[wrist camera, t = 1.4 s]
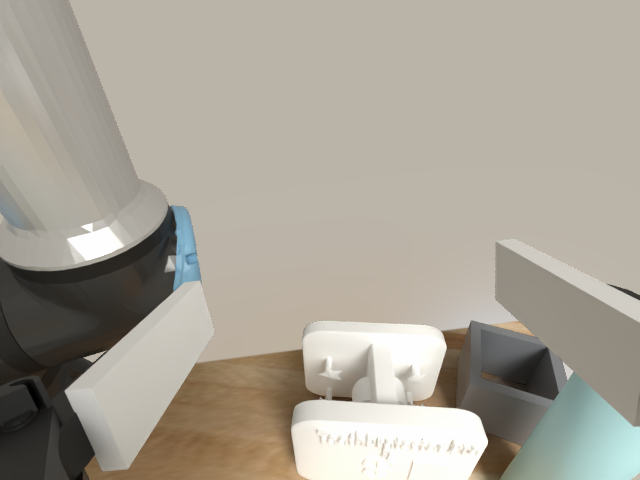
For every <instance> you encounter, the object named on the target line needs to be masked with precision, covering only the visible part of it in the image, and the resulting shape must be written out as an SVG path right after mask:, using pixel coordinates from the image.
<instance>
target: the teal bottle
mask: <svg viewBox="0 0 640 480" xmlns="http://www.w3.org/2000/svg"><path fill="white" fill-rule="evenodd" d="M639 473H640V427H633V426H632V425H631V424H630V423H629V422H628V421H627V420H626V419H625V418H624V417H623V416H622V415H620V414H619V413H618V412H617V411H616V410H615V409H614V408H613V407H612V406H611V405H610V404H609V403H607V402H606V401H605V400H604V399H603V398H602V397H601V396H600V395H599V394H598V393H597V392H595V391H594V390H593V389H592V388H591V387H590V386H589V385H588V384H587V383H586V382H585V381H584V380H582V379H581V378H580V377H579V376H578V375H577V374H576V373H575V372H573V374H572V375H571V376H570V378H569V380H568V381H567V382H566V384H565V385H564V387H563V388H562V389H561V391H560V392H559V394H558V395H557V397H556V398H555V400H554V401H553V402H552V404H551V405H550V407H549V408H548V410H547V411H546V413H545V414H544V415H543V417H542V418H541V420H540V421H539V423H538V424H537V425H536V427H535V428H534V430H533V431H532V433H531V434H530V436H529V437H528V438H527V440H526V441H525V443H524V444H523V446H522V447H521V449H520V450H519V451H518V453H517V454H516V456H515V457H514V459H513V460H512V461H511V463H510V464H509V466H508V467H507V469H506V470H505V472H504V473H503V474H502V476H501V477H500V479H499V480H631V479H632V478H634V477H635V476H636V475H637V474H639Z"/></svg>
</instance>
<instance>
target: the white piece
mask: <svg viewBox="0 0 640 480" xmlns="http://www.w3.org/2000/svg"><path fill="white" fill-rule="evenodd" d="M302 348H303V360H304V372H305V384H306V388H307V389H308V390H309V391H311V392H312V393H315V394H318V395H322V396H326V397H325V400H324V399H322V398H321V397H320V400H309V401H304V402H301V403H299V404H298V405H296V406H295V408H294V411H293V418H292V425H291V434H292V441H293V448H294V455H295V462H296V468H297V472H298V474H299V475H301V476H302V477H304V478H306V479H309V480H468V478H469V477H470V475H471V473H472V471H473V469H474V468H475V466H476V464H477V462H478V461H479V459H480V457H481V455H482V453H483V452H484V450H485V448H486V446H487V444H488V439H487V437H486V434H485V431H484V428H483V425H482V422H481V419H480V418H479V417H478V416H477V415H476V414H474V413H472V412H470V411H467V410H463V409H458V408H446V407H430V406H425V405H424V404H423V403H422V405H421V406H417V405H413V401H421V400H425V399H427V398H429V397H430V396H432V394H433V392H434V389H435V385H436V382H437V379H438V375H439V372H440V369H441V366H442V362H443V359H444V356H445V352H446V349H447V346H446V342H445V339H444V336H443V334H442V332H441V331H440V330H439V329H437V328H435V327H432V326H428V325H414V324H390V323H369V322H344V321H316V322H313V323H310V324H308V325H307V326H306V327H305V328H304V332H303V338H302ZM332 396H334V397H350V398H352V402H351V401H335V400H332Z"/></svg>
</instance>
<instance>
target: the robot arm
mask: <svg viewBox="0 0 640 480" xmlns="http://www.w3.org/2000/svg"><path fill="white" fill-rule="evenodd" d="M0 212H1V214H2V215H3V217H4V219H3V221H2V222H1V224H0V480H89V477H88V475H87V473H86V471H85V469H84V468H85V467H86V465H87V464H88V463H89V462H90V460H91V459H92V458H93V456H94V455H95V457H96V459H97V461H98V464H99V466H100V468H101V470H102V471H114V470H126V469H128V468H129V467H130V465H131V464H132V462H133V461H134V459H135V457H136V456H137V454H138V453H139V451H140V450H141V448H142V446H143V445H144V443H145V442H146V440H147V439H148V437H149V435H150V434H151V432H152V431H153V429H154V428H155V426H156V424H157V423H158V421H159V420H160V418H161V417H162V415H163V413H164V412H165V410H166V409H167V407H168V406H169V404H170V402H171V401H172V399H173V398H174V396H175V395H176V393H177V391H178V390H179V388H180V387H181V385H182V384H183V382H184V380H185V379H186V377H187V376H188V374H189V373H190V371H191V369H192V368H193V366H194V365H195V363H196V362H197V360H198V358H199V357H200V355H201V354H202V352H203V351H204V349H205V348H206V346H207V344H208V343H209V341H210V340H211V338H212V337H213V335H214V333H215V331H214V327H213V324H212V320H211V317H210V313H209V310H208V306H207V303H206V299H205V296H204V292H203V289H202V284H201V275H200V268H199V263H198V259H197V252H196V244H195V238H194V233H193V227H192V223H191V219H190V215H189V212H188V210H187V209H186V208H185V207H182V206H174V205H172V206H170V207H169V205H168V202H167V199H166V197H165V195H164V194H163V192H162V191H161V190H160V189H159V188H158V187H156V186H155V185H153V184H150V183H148V182H146V181H143V180H140V179H138V177H137V175H136V172H135V169H134V167H133V164H132V162H131V159H130V157H129V154H128V151H127V149H126V146H125V144H124V141H123V139H122V136H121V134H120V131H119V128H118V126H117V123H116V121H115V118H114V115H113V113H112V110H111V108H110V105H109V102H108V100H107V97H106V95H105V92H104V90H103V87H102V84H101V82H100V79H99V77H98V74H97V72H96V69H95V66H94V64H93V61H92V59H91V56H90V54H89V51H88V48H87V46H86V43H85V41H84V38H83V36H82V33H81V31H80V28H79V25H78V23H77V20H76V18H75V15H74V12H73V10H72V7H71V5H70V2H69V0H0ZM495 288H496V289H495V291H496V292H495V294H496V295H495V298H496V300H497V301H498V302H499V303H500V304H501V305H502V306H503V307H504V308H505V309H507V310H508V311H509V312H510V313H511V314H512V315H513V316H514V317H515V318H516V319H517V320H518V321H520V322H521V323H522V324H523V325H524V326H525V327H526V328H527V329H528V330H529V331H530V332H531V333H533V334H534V335H535V336H536V337H537V338H538V339H539V340H540V341H541V342H542V343H543V344H545V345H546V346H547V347H548V348H549V349H550V350H551V351H552V352H553V353H554V354H555V355H556V356H558V357H559V358H560V359H561V360H562V361H563V362H564V363H565V364H566V365H567V366H568V367H570V368H571V369H572V370H573V371H574V372H575V373H576V374H577V375H578V376H579V377H580V378H581V379H582V380H584V381H585V382H586V383H587V384H588V385H589V386H590V387H591V388H592V389H593V390H594V391H595V392H597V393H598V394H599V395H600V396H601V397H602V398H603V399H604V400H605V401H606V402H607V403H609V404H610V405H611V406H612V407H613V408H614V409H615V410H616V411H617V412H618V413H619V414H620V415H622V416H623V417H624V418H625V419H626V420H627V421H628V422H629V423H630V424H631V425H632V426H633V427H640V295H638V294H636V293H634V292H632V291H629V290H627V289H623V288H619V287H616V286H613V285H609V284H605V283H603V282H601V281H599V280H597V279H595V278H593V277H591V276H589V275H587V274H585V273H583V272H581V271H579V270H577V269H575V268H572V267H571V266H569V265H567V264H564V263H563V262H560V261H558V260H556V259H554V258H552V257H550V256H548V255H546V254H544V253H542V252H540V251H538V250H536V249H534V248H532V247H530V246H528V245H526V244H524V243H522V242H520V241H518V240H516V239H508V240H500V241H496V283H495ZM106 350H108V351H106ZM103 351H106V352H105V353H103V355H101V356H100V357H99V358H98V359H97V360H96V361H95V362H93V363H92V362H90V361H88V360H86V359H84V358H83V357H87V356H89V355H93V354H96V353H100V352H103Z"/></svg>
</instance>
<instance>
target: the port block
mask: <svg viewBox="0 0 640 480" xmlns="http://www.w3.org/2000/svg"><path fill="white" fill-rule="evenodd" d="M481 371H482V372H485V373H488V374H491V375H495V376H498V377H501V378H505V379H508V380H511V381H514V382H518V383H521V384H524V385H526V388H527V392H524V391H521V390H518V389H515V388H512V387H508V386H505V385H502V384H499V383H496V382H492V381H489V380H486V379H483V378H482V377H481ZM566 382H567V377H566V373H565V369H564V366H563V362H562V360H561V359H560V358H559V357H558V356H556V355H555V354H554V353H553V352H552V351H551V350H550V349H549V348H548V347H547V346H546V345H545V344H543V343H542V342H541V341H540V340H539V339H538V338H537V337H534V336H530V335H526V334H522V333H518V332H514V331H510V330H507V329H503V328H499V327H495V326H491V325H487V324H483V323H479V322H475V321H471V322H470V325H469V328H468V331H467V334H466V337H465V340H464V343H463V345H462V348H461V351H460V354H459V357H458V371H457V390H456V408H458V409H463V410H467V411H470V412H472V413H474V414H476V415H477V416H478V417H479V418H480V419H481V422H482V425H483V428H484V431H485V432H486V433H488V434H491V435H494V436H497V437H499V438H502V439H505V440H508V441H510V442H513V443H516V444H519V445H521V446H523V444H524V443H525V441H526V440H527V438H528V437H529V436H530V434H531V433H532V431H533V430H534V428H535V427H536V425H537V424H538V423H539V421H540V420H541V418H542V417H543V415H544V414H545V413H546V411H547V410H548V408H549V407H550V405H551V404H552V402H553V401H554V400H555V398H556V397H557V395H558V394H559V392H560V391H561V389H562V388H563V387H564V385H565V384H566Z"/></svg>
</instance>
